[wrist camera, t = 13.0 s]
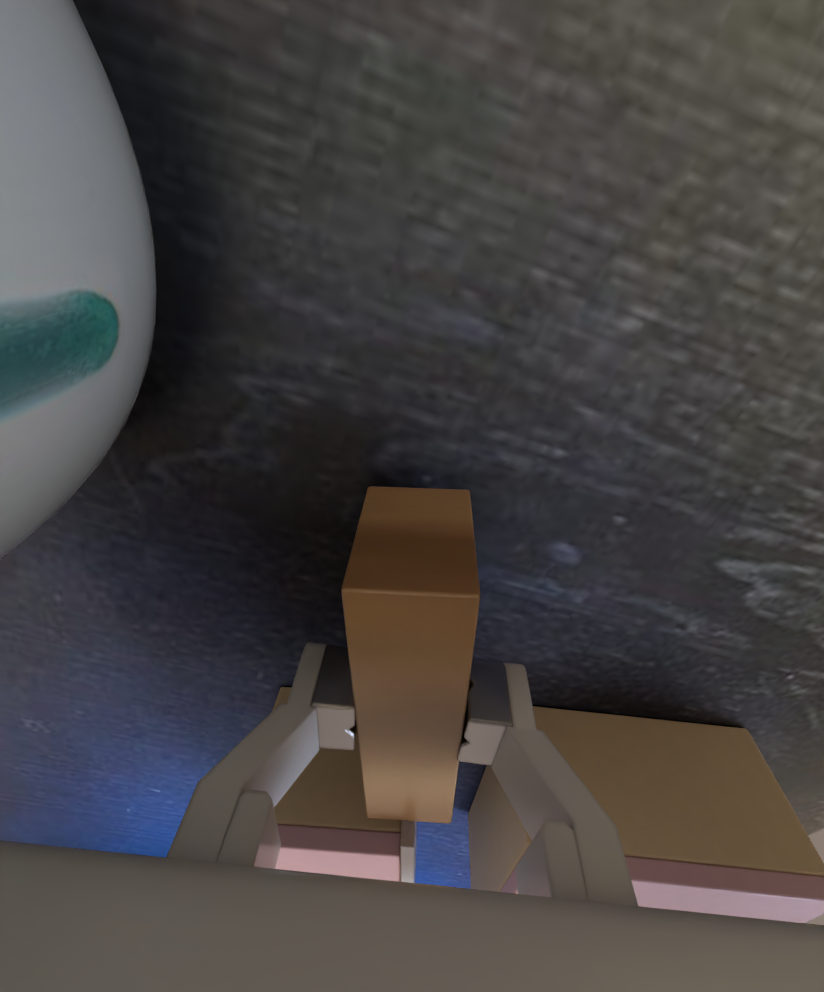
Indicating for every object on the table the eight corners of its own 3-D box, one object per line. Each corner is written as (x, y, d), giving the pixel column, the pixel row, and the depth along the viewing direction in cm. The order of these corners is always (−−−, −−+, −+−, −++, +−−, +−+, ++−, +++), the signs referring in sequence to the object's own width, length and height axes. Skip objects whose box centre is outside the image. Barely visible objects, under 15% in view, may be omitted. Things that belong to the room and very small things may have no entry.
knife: (367, 484, 10) (333, 616, 7) (470, 488, 10) (483, 624, 7) (388, 852, 22) (379, 965, 19) (435, 855, 22) (434, 970, 19)
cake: (747, 727, 17) (848, 903, 12) (645, 832, 22) (691, 976, 18) (509, 702, 17) (531, 870, 12) (467, 813, 22) (473, 953, 18)
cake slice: (410, 693, 17) (400, 857, 13) (410, 807, 22) (402, 946, 18) (280, 685, 17) (227, 844, 13) (311, 800, 22) (282, 936, 18)
